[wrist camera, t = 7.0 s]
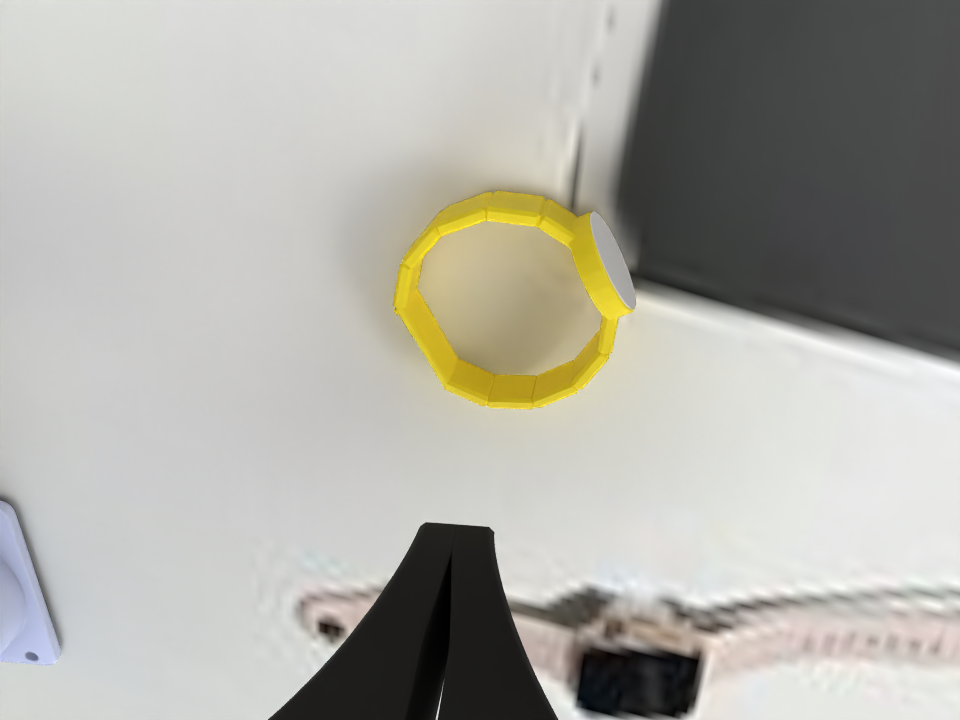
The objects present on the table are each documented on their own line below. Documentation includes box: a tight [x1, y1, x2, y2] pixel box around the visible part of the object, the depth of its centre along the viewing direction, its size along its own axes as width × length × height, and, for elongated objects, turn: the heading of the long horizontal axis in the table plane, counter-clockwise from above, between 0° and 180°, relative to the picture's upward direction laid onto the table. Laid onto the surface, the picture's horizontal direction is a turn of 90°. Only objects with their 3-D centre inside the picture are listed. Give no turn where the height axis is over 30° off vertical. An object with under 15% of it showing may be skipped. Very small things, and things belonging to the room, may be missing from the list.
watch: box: [393, 191, 636, 409], centre depth 19 cm, size 6×3×6 cm
